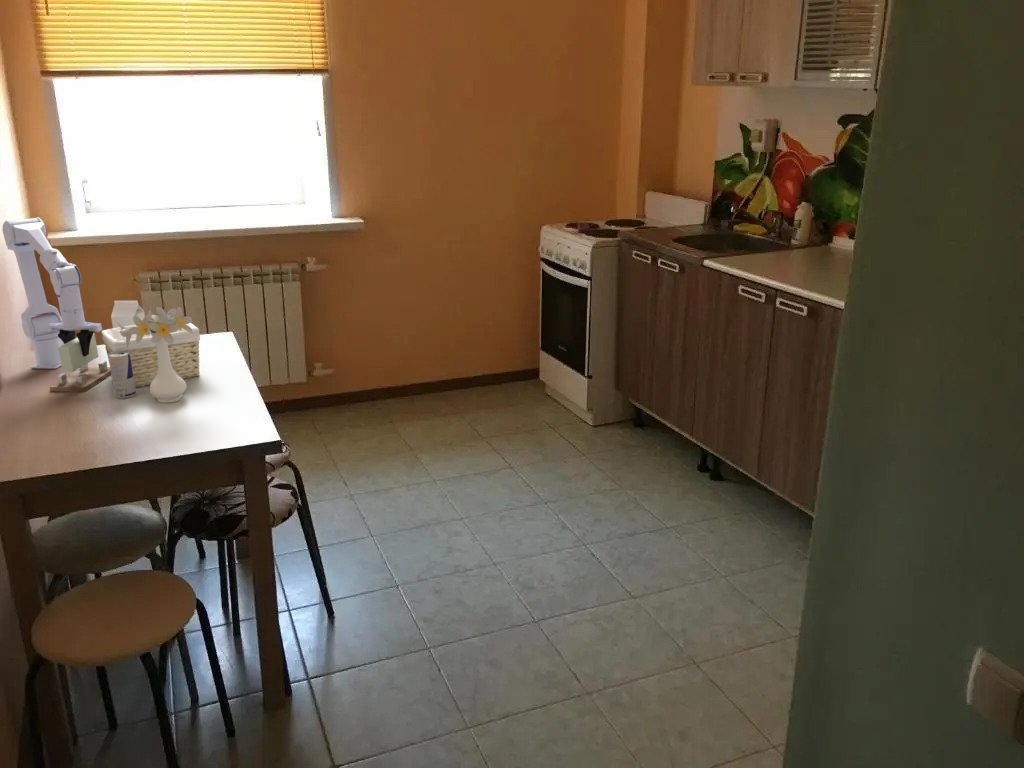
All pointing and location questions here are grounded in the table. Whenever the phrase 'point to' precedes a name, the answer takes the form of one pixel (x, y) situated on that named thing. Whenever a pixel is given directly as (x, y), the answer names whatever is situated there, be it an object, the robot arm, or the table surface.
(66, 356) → the door panel
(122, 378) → the energy drink
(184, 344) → the storage basket
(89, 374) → the mount plate
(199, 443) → the table surface
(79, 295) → the robot arm
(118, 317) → the milk carton
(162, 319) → the flower vase
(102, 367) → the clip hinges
